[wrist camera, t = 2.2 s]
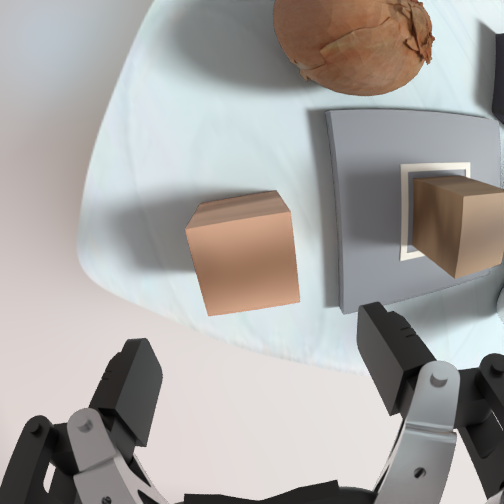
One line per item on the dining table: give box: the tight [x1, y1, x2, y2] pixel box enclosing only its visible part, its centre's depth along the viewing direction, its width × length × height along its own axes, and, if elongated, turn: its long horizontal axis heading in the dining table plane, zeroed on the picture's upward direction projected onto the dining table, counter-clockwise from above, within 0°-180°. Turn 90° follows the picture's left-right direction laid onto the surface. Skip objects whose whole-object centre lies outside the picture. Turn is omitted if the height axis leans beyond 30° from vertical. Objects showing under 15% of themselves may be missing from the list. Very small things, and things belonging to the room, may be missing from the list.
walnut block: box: [412, 176, 504, 279], centre depth 17 cm, size 6×6×6 cm
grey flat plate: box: [325, 109, 501, 315], centre depth 20 cm, size 16×18×1 cm
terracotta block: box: [185, 191, 300, 316], centre depth 18 cm, size 6×6×6 cm
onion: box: [273, 0, 435, 96], centre depth 12 cm, size 10×9×10 cm
